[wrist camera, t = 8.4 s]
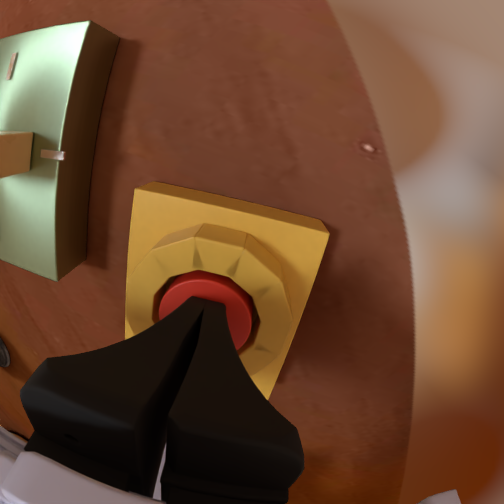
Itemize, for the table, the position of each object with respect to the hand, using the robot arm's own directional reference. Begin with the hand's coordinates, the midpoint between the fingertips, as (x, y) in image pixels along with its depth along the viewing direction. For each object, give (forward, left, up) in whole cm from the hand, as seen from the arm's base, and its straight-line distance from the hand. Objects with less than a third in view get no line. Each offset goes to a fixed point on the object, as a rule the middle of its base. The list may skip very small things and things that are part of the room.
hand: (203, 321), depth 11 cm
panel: (+5, +12, -4) cm, 14 cm away
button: (0, 0, -2) cm, 2 cm away
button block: (-1, 0, -4) cm, 4 cm away
